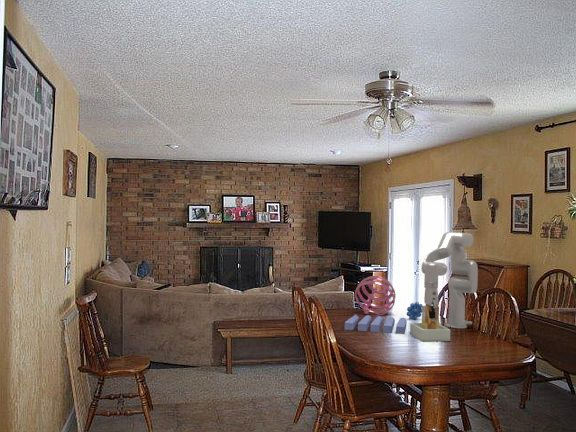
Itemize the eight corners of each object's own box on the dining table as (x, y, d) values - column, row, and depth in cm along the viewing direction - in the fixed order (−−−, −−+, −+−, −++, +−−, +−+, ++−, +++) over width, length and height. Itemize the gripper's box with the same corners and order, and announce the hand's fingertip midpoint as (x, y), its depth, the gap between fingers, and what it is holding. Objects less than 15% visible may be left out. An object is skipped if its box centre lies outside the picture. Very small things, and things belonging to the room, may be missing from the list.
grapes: (420, 318, 383) (421, 300, 383) (424, 320, 376) (424, 302, 376) (404, 318, 381) (404, 300, 381) (407, 320, 374) (408, 302, 374)
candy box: (434, 331, 322) (435, 305, 322) (438, 333, 318) (439, 306, 318) (421, 332, 319) (421, 305, 319) (425, 334, 315) (425, 306, 315)
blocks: (344, 330, 335) (344, 322, 335) (352, 320, 369) (352, 313, 369) (404, 335, 327) (404, 326, 327) (406, 324, 360) (407, 317, 360)
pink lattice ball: (381, 290, 371) (389, 265, 392) (344, 296, 386) (353, 271, 407) (397, 321, 382) (404, 295, 403) (360, 326, 396) (369, 301, 417)
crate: (436, 334, 329) (437, 323, 329) (450, 341, 309) (450, 329, 309) (410, 334, 328) (410, 322, 328) (421, 341, 308) (422, 329, 308)
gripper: (443, 287, 311) (442, 320, 311) (432, 283, 328) (431, 314, 328) (430, 286, 310) (429, 320, 310) (419, 283, 327) (418, 314, 327)
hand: (430, 317), depth 319 cm, fingers closed on candy box, 5 cm apart
